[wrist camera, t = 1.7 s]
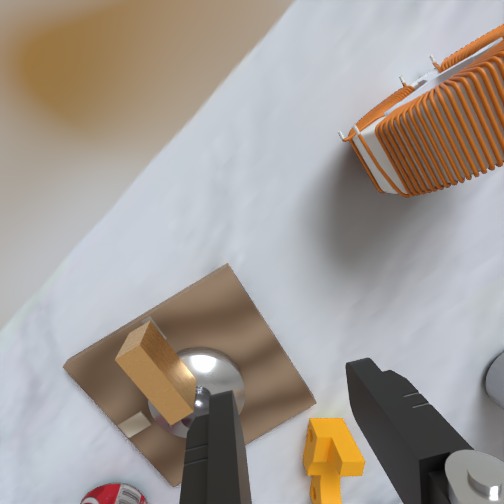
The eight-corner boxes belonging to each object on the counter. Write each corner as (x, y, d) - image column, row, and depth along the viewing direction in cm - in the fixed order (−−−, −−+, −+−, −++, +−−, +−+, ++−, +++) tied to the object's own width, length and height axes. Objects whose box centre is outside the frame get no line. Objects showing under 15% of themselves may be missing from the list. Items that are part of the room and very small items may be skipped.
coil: (467, 110, 32) (675, 55, 17) (348, 197, 32) (454, 213, 18) (439, 47, 30) (645, -72, 16) (314, 140, 31) (401, 109, 16)
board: (312, 394, 38) (317, 404, 36) (175, 475, 38) (173, 488, 37) (227, 262, 33) (228, 267, 31) (69, 358, 33) (61, 368, 31)
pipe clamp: (309, 416, 39) (327, 462, 33) (341, 416, 39) (365, 461, 33) (296, 491, 41) (310, 547, 35) (326, 490, 42) (346, 544, 36)
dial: (259, 396, 35) (269, 442, 29) (185, 440, 35) (179, 495, 29) (186, 292, 31) (179, 321, 25) (102, 343, 31) (75, 383, 25)
